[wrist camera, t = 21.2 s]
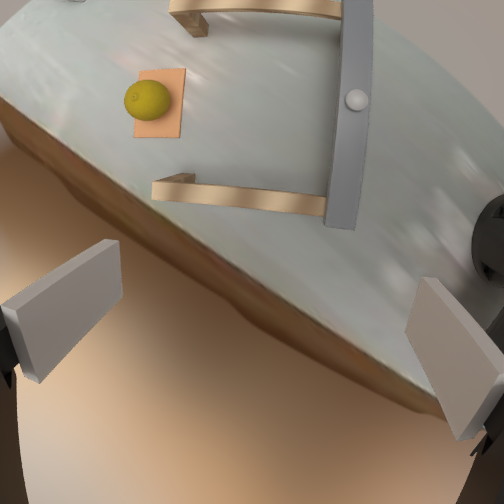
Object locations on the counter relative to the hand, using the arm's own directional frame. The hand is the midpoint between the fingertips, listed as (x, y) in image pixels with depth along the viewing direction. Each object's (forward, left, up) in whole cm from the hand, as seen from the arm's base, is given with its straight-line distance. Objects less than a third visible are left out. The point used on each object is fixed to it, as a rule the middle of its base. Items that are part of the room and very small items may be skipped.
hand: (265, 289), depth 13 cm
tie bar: (-6, -11, -20) cm, 24 cm away
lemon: (+18, -11, -30) cm, 37 cm away
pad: (+18, -11, -31) cm, 37 cm away
